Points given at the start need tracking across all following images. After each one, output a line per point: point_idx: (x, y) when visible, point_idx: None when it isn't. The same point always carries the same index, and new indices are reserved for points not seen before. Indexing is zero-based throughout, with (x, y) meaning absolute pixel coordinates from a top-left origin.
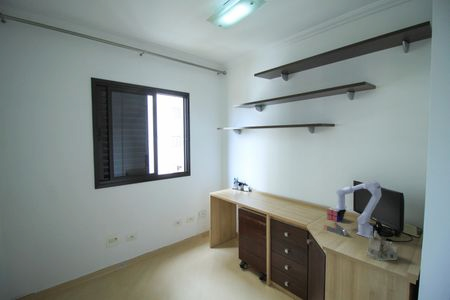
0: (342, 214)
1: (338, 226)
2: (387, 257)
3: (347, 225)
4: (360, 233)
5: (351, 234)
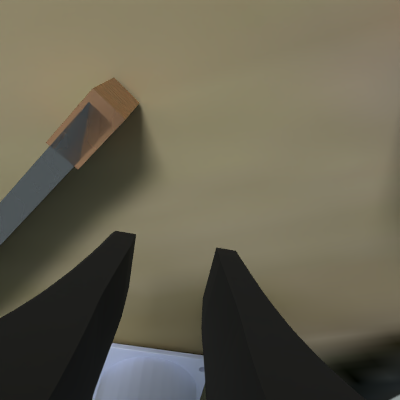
0: (213, 368)
1: (4, 198)
2: None
3: (329, 220)
4: (98, 387)
5: None
